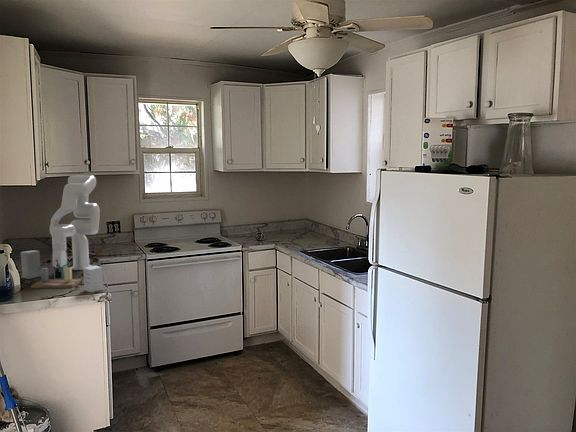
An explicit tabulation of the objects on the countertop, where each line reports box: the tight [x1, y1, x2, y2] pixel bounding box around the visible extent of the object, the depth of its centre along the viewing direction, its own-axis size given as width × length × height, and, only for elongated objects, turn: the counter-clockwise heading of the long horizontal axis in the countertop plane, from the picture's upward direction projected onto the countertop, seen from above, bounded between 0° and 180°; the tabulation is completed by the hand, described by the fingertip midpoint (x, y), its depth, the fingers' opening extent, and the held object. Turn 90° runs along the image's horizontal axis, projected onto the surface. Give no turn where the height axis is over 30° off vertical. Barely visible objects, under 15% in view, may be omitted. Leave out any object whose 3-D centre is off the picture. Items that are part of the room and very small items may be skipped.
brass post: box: [65, 267, 73, 283], centre depth 266 cm, size 3×3×8 cm
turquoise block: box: [53, 264, 69, 279], centre depth 280 cm, size 6×6×8 cm
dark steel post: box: [40, 267, 50, 283], centre depth 265 cm, size 3×3×8 cm
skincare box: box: [20, 249, 42, 280], centre depth 282 cm, size 8×7×16 cm
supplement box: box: [82, 265, 104, 294], centre depth 255 cm, size 7×7×13 cm
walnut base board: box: [30, 278, 83, 289], centre depth 266 cm, size 14×22×2 cm, turn 93°
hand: (61, 276), depth 280 cm, fingers open, 7 cm apart
